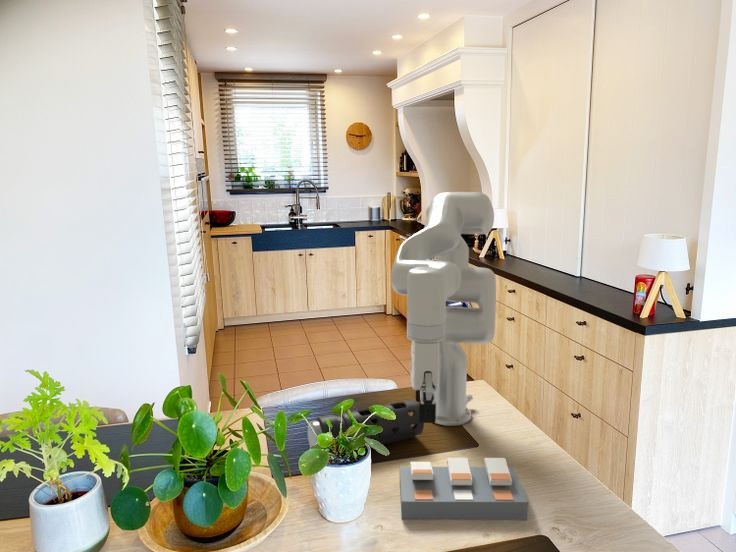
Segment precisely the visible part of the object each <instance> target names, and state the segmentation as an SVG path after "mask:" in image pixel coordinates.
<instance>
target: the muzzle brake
mask: <svg viewBox="0 0 736 552" xmlns="http://www.w3.org/2000/svg"><path fill="white" fill-rule="evenodd" d="M382 406H383V407H386V408H389V409H390V410H391V411H393V412H394V413H395V415H396V419H395V420H387V419H384V418H381V417H379V416H377V415H372V416H371V417H370V418H369V419H368V420H367V421H366V422H365V424H366V425H377V426H381V427H382V428H383V431H382V432H381V433H378V434H376V435H370V436H367V438H370V439H374V440H377V441H379V442H380V443H382V444H381V445H386V444H391V443H395V442H400V441H404V440H408V439H414V438H415V437H416V436H420V435H421V434H422V433H423V432H424V428H425V427H424V426H425V423H420V422H419V402H416V399H409V400H405V401H399V402H394V403H390V404H389V403H388V404H384V405H383V404H382ZM369 408H370V407H369ZM369 408H363V409H358V410H353V411H350V412H351V413H352V415H353V417H354V418H355V419H356V421H357V422H358V423H363V422H364V421H365V420H366V419H367V418H368V416H370V415H371V412H370V411H369ZM410 413H412V415H410ZM341 414H342V413H340V414H339V415H338V416H337V415H335V414H326V415H322V416H317V417H316V418H315V419H314V420H312V421H309V422H308V424H310V425H311V427H312V428H313V430H314V431H315V432H316V433H317V434H321V433H327V432H329V427H328V425H327V424H326V422H325V419H329V420H330V422H331V424H332V426H333V427H332V429H331V432H332V435H333V437H334V438H336V437H337V436H338V435H339V431H340V423H341ZM342 422H343V424H342V430H343V432H346V430H347V429H348V428H349V427H350V426H352V421H351V419H348V415H347V412H343V414H342ZM307 440H308V445H309V448H310V449H311V447H312V446H314V445H315V444H316V443H317V437H316V435H315V434H314V432H313V431H312V430H311V428H310V427H309V425H307Z"/></svg>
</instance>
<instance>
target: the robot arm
mask: <svg viewBox="0 0 736 552" xmlns="http://www.w3.org/2000/svg"><path fill="white" fill-rule="evenodd" d="M494 212H495V211H494V207H493V204H492V201H491V199H490V197H489V195H487V194H485V193H483V192H481V191H480V192H479V191H446V192H441V193H438V194H437V195H435V196H434V197H433V198H432V200H431V202H430V204H428V206H427V207H426V210H425V214H426V216H425V217H426V219H425V223H424V227H423V229H421V230H419V231H418V232H416V233H414V234H413V235H412V236H410V237H408V238H407V239H406V240H404V241H403V242H402V243H401V244H400V245H399V247H398V249H397V251H396V254H395V258H394V261H393V264H392V267H391V274H390V284H391V287H392V289H393V291H394V292H395V293H396V294H399V295H400V296H406V338H407V339H408V340H409V341H411V345H410V382H411V386H412V390H413V391H414V392H415V401H416V402H417V403H418V405H419V422H420V423H424V424H425V423H426V424H434V423H435V424H437V425H441V426H448V427H451V426H453V427H455V426H462V425H465V424H466V423H469V422H470V421H471V419H472V412H471V410H470V409H469V408H468V407H467V406H468V403H469V402H471V401H473V399H474V397H473V395H472V394H467V374H468V372H467V371H468V368H467V367H468V366H467V365H468V356H467V354H466V351H465V350H464V348H463V346H462V345H461V344H462V343H464V344H480V345H486V344H490V343H491V342H492V341H493V339H494V337H495V332H496V313H497V311H496V310H497V280H496V275H495V272H494V271H493V270H492V269H491V268H487V267H482V266H481V267H478V266H474V267H472V266H470V265H469V258H470V257H469V256H470V255H469V254H470V249H469V246H468V244H467V242H466V241H465V239H464V238H463V237H462V236H461V235H487V234H489V233H490V232H491V231H492V228H493V226H494V223H495V222H494V221H495V213H494ZM435 258H436V260H430V259H435ZM447 302H456V303H471V304H472V303H474V304H476V305H477V306H478V307H465V306H453V305H452V306H451V305H450V306H447Z"/></svg>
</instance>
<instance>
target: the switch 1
mask: <svg viewBox="0 0 736 552" xmlns="http://www.w3.org/2000/svg"><path fill="white" fill-rule="evenodd" d="M409 467H410V468H411V476H412V480H433V470H432V467H433V466H432V462H431V461H409Z"/></svg>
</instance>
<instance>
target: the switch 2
mask: <svg viewBox="0 0 736 552" xmlns="http://www.w3.org/2000/svg"><path fill="white" fill-rule="evenodd" d="M446 464H447V465H446V467H448V472H449V478H450V485H472V477H471V472H470V467H471V466H470V463H469V459H468V457H447V458H446Z"/></svg>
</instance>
